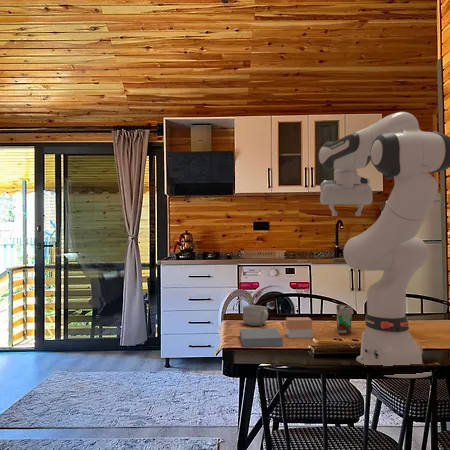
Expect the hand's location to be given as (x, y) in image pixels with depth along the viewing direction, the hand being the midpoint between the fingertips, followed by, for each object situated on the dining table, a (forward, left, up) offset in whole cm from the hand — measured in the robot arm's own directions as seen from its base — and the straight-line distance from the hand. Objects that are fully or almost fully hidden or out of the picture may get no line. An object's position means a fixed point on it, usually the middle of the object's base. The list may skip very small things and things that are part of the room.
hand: (346, 216), depth 156 cm
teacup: (+19, +33, -47) cm, 60 cm away
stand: (-6, +35, -46) cm, 58 cm away
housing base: (0, +19, -47) cm, 50 cm away
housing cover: (0, +19, -43) cm, 47 cm away
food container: (+5, -1, -46) cm, 47 cm away
